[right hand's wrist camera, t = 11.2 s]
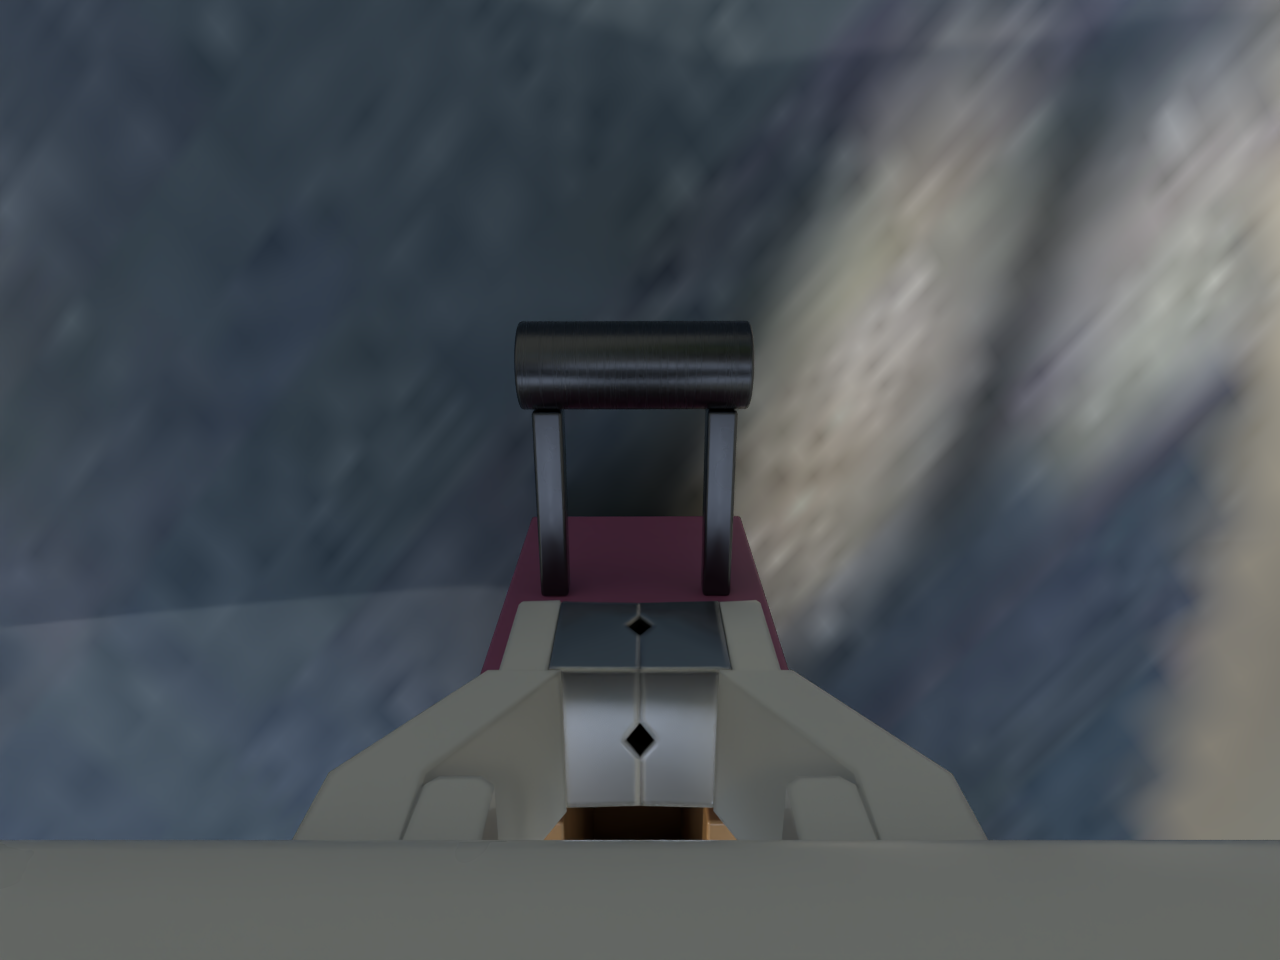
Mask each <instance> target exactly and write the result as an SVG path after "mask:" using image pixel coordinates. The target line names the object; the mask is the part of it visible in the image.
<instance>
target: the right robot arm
mask: <svg viewBox="0 0 1280 960" xmlns="http://www.w3.org/2000/svg"><path fill="white" fill-rule="evenodd" d="M611 806H667V807H704V808H714V809H713V811H714V812H715V814H716V815H717V816H718V817H719V818H720V820H721V821H722V822H723V823H724V825H725V826H726V827H727V828H728V829H729V831H730V832H731V833H732V834H733V836H734V837H735V838H736V839H737V840H544V839H545V837H546V836H547V835H548V834H549V833H550V831H551V830H552V829H553V828H554V827H555V825H556V824H557V823H558V822H559V820H560V819H561V818H562V817H563V816H564V814H565V813H566V812H567V808H576V807H611ZM0 960H1280V840H988V839H987V837H986V835H985V833H984V832H983V830H982V828H981V826H980V824H979V822H978V821H977V819H976V817H975V815H974V813H973V811H972V809H971V808H970V806H969V804H968V802H967V800H966V798H965V796H964V795H963V793H962V791H961V789H960V787H959V785H958V784H957V782H956V780H955V778H954V776H953V774H952V773H950V772H949V771H947V770H946V769H944V768H943V767H941V766H940V765H938V764H936V763H935V762H933V761H932V760H930V759H929V758H927V757H926V756H924V755H923V754H921V753H919V752H918V751H916V750H915V749H913V748H912V747H910V746H909V745H907V744H906V743H904V742H902V741H901V740H899V739H898V738H896V737H895V736H893V735H892V734H890V733H889V732H887V731H886V730H884V729H882V728H881V727H879V726H878V725H876V724H875V723H873V722H872V721H870V720H869V719H867V718H865V717H864V716H862V715H861V714H859V713H858V712H856V711H855V710H853V709H852V708H850V707H848V706H847V705H845V704H844V703H842V702H841V701H839V700H838V699H836V698H835V697H833V696H832V695H830V694H828V693H827V692H825V691H824V690H822V689H821V688H819V687H818V686H816V685H815V684H813V683H811V682H810V681H808V680H807V679H805V678H804V677H802V676H801V675H799V674H798V673H796V672H794V671H793V670H781V669H780V666H779V662H778V659H777V656H776V652H775V649H774V646H773V643H772V639H771V636H770V633H769V629H768V626H767V623H766V620H765V616H764V613H763V610H762V607H761V603H760V602H758V601H757V600H747V601H726V602H718V601H695V602H653V603H635V602H581V601H563V602H562V603H561V601H560V600H549V601H523V602H521V603H520V604H519V606H518V609H517V612H516V615H515V619H514V622H513V625H512V629H511V632H510V635H509V639H508V642H507V645H506V649H505V652H504V655H503V659H502V662H501V665H500V669H499V670H487V671H486V672H484V673H482V674H481V675H479V676H478V677H476V678H475V679H473V680H472V681H470V682H468V683H467V684H465V685H464V686H462V687H461V688H459V689H458V690H456V691H455V692H453V693H451V694H450V695H448V696H447V697H445V698H444V699H442V700H441V701H439V702H437V703H436V704H434V705H433V706H431V707H430V708H428V709H427V710H425V711H424V712H422V713H420V714H419V715H417V716H416V717H414V718H413V719H411V720H410V721H408V722H406V723H405V724H403V725H402V726H400V727H399V728H397V729H396V730H394V731H393V732H391V733H389V734H388V735H386V736H385V737H383V738H382V739H380V740H379V741H377V742H375V743H374V744H372V745H371V746H369V747H368V748H366V749H365V750H363V751H362V752H360V753H358V754H357V755H355V756H354V757H352V758H351V759H349V760H348V761H346V762H344V763H343V764H341V765H340V766H338V767H337V768H335V769H334V770H332V771H331V772H329V773H328V775H327V777H326V779H325V781H324V782H323V784H322V786H321V788H320V790H319V792H318V793H317V795H316V797H315V799H314V801H313V803H312V804H311V806H310V808H309V810H308V812H307V813H306V815H305V817H304V819H303V821H302V823H301V824H300V826H299V828H298V830H297V832H296V834H295V835H294V837H293V839H292V840H0Z"/></svg>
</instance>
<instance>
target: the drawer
mask: <svg viewBox="0 0 1280 960" xmlns="http://www.w3.org/2000/svg"><path fill="white" fill-rule="evenodd" d="M514 368H515V384H516V392H517V398H518V402H519V404H520V407H521V408H522V409H534V411H533V413H532V426H533V446H534V465H535V485H536V504H537V517H533V518H532V520H531V523H530V526H529V529H528V532H527V535H526V538H525V541H524V544H523V547H522V550H521V554H520V557H519V560H518V563H517V566H516V569H515V572H514V575H513V578H512V581H511V584H510V587H509V590H508V593H507V596H506V599H505V602H504V605H503V608H502V611H501V614H500V617H499V620H498V623H497V626H496V629H495V632H494V635H493V638H492V641H491V644H490V647H489V650H488V653H487V656H486V659H485V662H484V665H483V668H482V671H481V674H482V673H484V672H486V671H487V670H499V669H500V665H501V662H502V659H503V655H504V652H505V649H506V645H507V642H508V639H509V635H510V632H511V629H512V625H513V622H514V619H515V615H516V612H517V609H518V606H519V604H520V603H521V602H523V601H549V600H560V601H561V603H562V602H563V601H581V602H635V603H653V602H695V601H718V602H726V601H747V600H757V601H758V602H760V603H761V607H762V610H763V613H764V616H765V620H766V623H767V626H768V629H769V633H770V636H771V639H772V643H773V646H774V649H775V652H776V656H777V659H778V662H779V666H780V669H781V670H788V667H787V664H786V660H785V657H784V654H783V651H782V648H781V645H780V641H779V638H778V635H777V632H776V629H775V626H774V623H773V619H772V616H771V613H770V610H769V607H768V604H767V600H766V597H765V594H764V591H763V588H762V585H761V581H760V578H759V575H758V572H757V569H756V566H755V562H754V559H753V556H752V553H751V550H750V547H749V543H748V540H747V537H746V534H745V531H744V528H743V524H742V521H741V518H740V517H738V516H733V511H734V487H735V463H736V439H737V415H738V414H737V411H736V409H746V408H748V407H749V404H750V401H751V397H752V390H753V380H754V341H753V332H752V327H751V325H750V322H748V321H527V322H520V323H519V324H518V327H517V330H516V337H515V350H514ZM564 409H706V413H705V450H704V487H703V516H655V517H568V503H567V476H566V449H565V421H564ZM481 674H480V675H481ZM713 809H714V808H704V807H667V806H611V807H576V808H567V812H566V813H565V814H564V816H563V817H562V818H561V819H560V820H559V822H558V823H557V824H556V825H555V827H554V828H553V829H552V830H551V831H550V833H549V834H548V835H547V836H546V837H545V839H544V840H737V839H736V838H735V837H734V836H733V834H732V833H731V832H730V831H729V829H728V828H727V827H726V826H725V825H724V823H723V822H722V821H721V820H720V818H719V817H718V816H717V815H716V814H715V812H714V811H713Z"/></svg>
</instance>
